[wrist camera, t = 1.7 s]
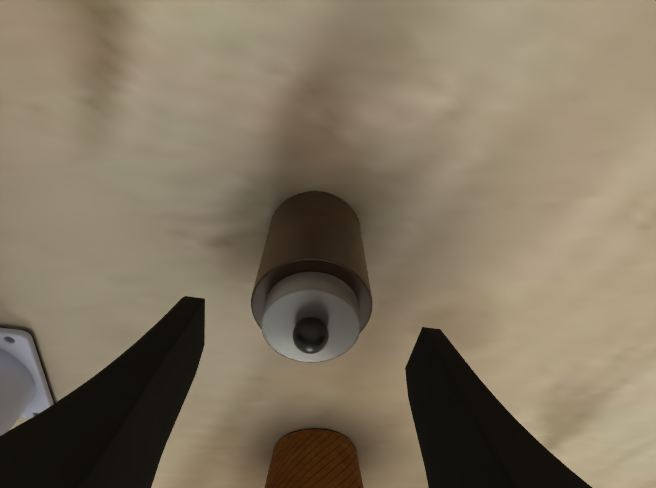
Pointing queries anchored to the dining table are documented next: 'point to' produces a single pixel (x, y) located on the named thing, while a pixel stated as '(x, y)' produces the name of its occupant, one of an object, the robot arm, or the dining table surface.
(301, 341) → the pepper mill
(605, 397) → the dining table surface
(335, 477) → the disposable coffee cup
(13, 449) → the robot arm
